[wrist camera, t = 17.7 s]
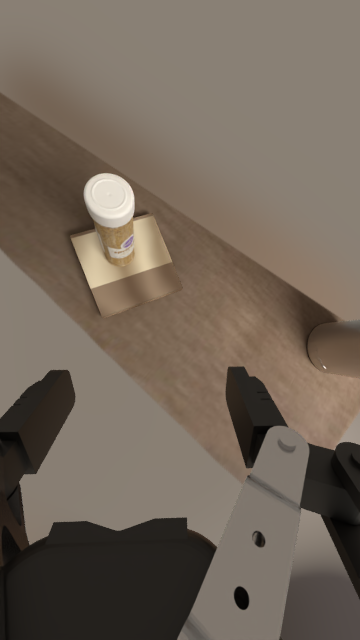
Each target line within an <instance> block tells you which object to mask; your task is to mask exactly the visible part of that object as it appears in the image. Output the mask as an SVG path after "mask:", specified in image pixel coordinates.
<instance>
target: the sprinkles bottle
mask: <svg viewBox="0 0 360 640" xmlns="http://www.w3.org/2000/svg"><path fill="white" fill-rule="evenodd" d="M84 200H85V203H86V206H87V209H88V212H89V214H90V216H91V217H92V218H93V221H94V225H95V229H96V232H97V235H98V238H99V240H100V243H101V246H102V248H103V250H104V255H105V257H106V260H107V261H108V262H109V263H110V264H112V265H114V266H118V267H124V266H126V265H128V264H130V263H131V262H132V261H133V259H134V256H135V250H134V229H133V227H134V225H133V214H134V194H133V191H132V189H131V187H130V185H129V184H128V183H127V182H126V181H125V180H124V179H123V178H121V177H119V176H117V175H114V174H110V173H103V174H98V175H96V176H94V177H92V178H91V179H90V180H89V181H88V182H87V184H86V186H85V188H84Z"/></svg>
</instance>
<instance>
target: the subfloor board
mask: <svg viewBox="0 0 360 640" xmlns="http://www.w3.org/2000/svg"><path fill="white" fill-rule="evenodd" d="M133 225H134V227H133V229H134V250H135V256H134V259H133V261H132V262H131V263H130V264H128V265H126V266H124V267H118V266H114V265H112V264H110V263H109V262H108V261H107V260H106V257H105V255H104V250H103V248H102V246H101V243H100V240H99V238H98V235H97V232H96V229H92V230H88V231H84V232H81V233H77V234H73V235H70V238H71V240H72V243H73V245H74V248H75V250H76V253H77V255H78V258H79V260H80V263H81V266H82V268H83V271H84V273H85V276H86V278H87V281H88V283H89V286H90V288H91V291H92V293H93V296H94V298H95V301H96V303H97V306H98V308H99V311H100V313H101V316H102V318H107V317H109V316H112V315H115V314H118V313H120V312H123V311H126V310H128V309H131V308H134V307H137V306H139V305H142V304H145V303H148V302H150V301H153V300H156V299H158V298H161V297H164V296H167V295H169V294H172V293H175V292H177V291H180V290H182V288H183V287H182V285H181V282H180V280H179V277H178V275H177V272H176V270H175V267H174V265H173V262H172V260H171V257H170V255H169V253H168V250H167V248H166V245H165V243H164V240H163V238H162V235H161V233H160V230H159V228H158V226H157V223H156V221H155V218H154V216H153V213H150V214H146V215H143V216H139V217H135V218H133Z"/></svg>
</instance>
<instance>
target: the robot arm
mask: <svg viewBox="0 0 360 640" xmlns="http://www.w3.org/2000/svg"><path fill="white" fill-rule="evenodd" d="M307 348H308V354H309V357H310V359H311V361H312V363H313V364H314V365H315V367H316V368H318V369H319V370H320V371H322V372H325V373H330V374H336V375H342V376H348V377H354V378H360V320H353V321H341V322H332V323H324V324H320V325H318V326H317V327H315V328H314V329H313V331H312V332H311V334H310V336H309V339H308V346H307ZM226 402H227V406H228V409H229V412H230V416H231V419H232V422H233V426H234V429H235V432H236V436H237V439H238V442H239V446H240V449H241V452H242V456H243V459H244V462H245V466H246V468H253V469H252V471H251V473H250V475H249V476H247V478H246V480H245V482H244V484H243V487H242V489H241V491H240V494H239V496H238V499H237V501H236V504H235V506H234V509H233V511H232V513H231V516H230V518H229V520H228V523H227V525H226V528H225V530H224V533H223V535H222V537H221V540H220V542H219V545H218V547H216V546H215V545H214V544H213V543H212V542H211V541H210V540H208V539H207V538H205V537H204V536H203V535H201V534H199V533H197V532H195V531H192V530H189V529H187V518H164V519H163V518H161V519H152V520H150V521H147V522H144V523H141V524H138V525H136V526H133V527H130V528H127V529H124V530H121V531H115V530H112V529H109V528H106V527H103V526H100V525H97V524H93V523H90V522H87V521H81V522H54V523H53V525H52V528H51V531H50V533H49V535H48V536H47V537H45V538H43V539H40V540H38V541H36V542H35V543H33V544H31V545H30V544H29V541H28V537H27V533H26V527H25V519H24V511H23V503H22V493H21V487H20V483H19V481H20V479H21V478H22V476H23V475H24V474H36V473H37V471H38V469H39V468H40V466H41V464H42V462H43V460H44V459H45V457H46V455H47V453H48V451H49V449H50V448H51V446H52V444H53V442H54V440H55V439H56V437H57V435H58V433H59V431H60V430H61V428H62V426H63V424H64V422H65V421H66V419H67V417H68V415H69V413H70V412H71V410H72V408H73V406H74V403H75V392H74V388H73V384H72V380H71V376H70V373H69V371H68V370H51V371H49V372H48V373H47V375H46V376H45V377H44V378H43V379H42V380H41V381H38V382H36V383H35V384H33V385H32V386H30V387H29V388H28V389H27V390H26V391H25V392H24V393H23V394H22V395H21V396H20V399H18V400H17V401H16V402H15V403H14V404H13V406H11V407H10V409H9V410H8V411H7V412H6V413H5V414H4V415H3V416H2V417H1V419H0V640H283V639H282V638H281V636H280V633H281V627H282V621H283V615H284V609H285V603H286V597H287V591H288V585H289V580H290V574H291V568H292V562H293V557H294V551H295V545H296V539H297V533H298V527H299V522H300V515H301V508H303V509H306V510H309V511H312V512H315V513H318V514H321V517H322V519H323V521H324V523H325V525H326V527H327V530H328V532H329V534H330V536H331V538H332V540H333V542H334V545H335V547H336V549H337V551H338V554H339V555H340V558H341V560H342V562H343V564H344V567H345V569H346V571H347V573H348V575H349V577H350V580H351V582H352V584H353V586H354V588H355V590H356V593H357V595H358V597H359V599H360V445H358V444H355V443H351V442H343V443H340V444H338V445H337V447H336V449H335V450H331V449H327V448H323V447H319V446H315V445H312V444H309V443H307V442H306V440H305V439H304V438H303V437H302V436H301V435H300V434H299V433H298V432H296V431H295V430H293V429H291V428H289V427H288V426H287V424H286V422H285V420H284V419H283V417H282V415H281V413H280V412H279V410H278V408H277V406H276V405H275V403H274V401H273V400H272V398H271V396H270V394H269V393H268V391H267V389H266V387H265V385H264V384H263V383H262V382H261V381H260V380H259V379H258V378H256V377H249V375H248V373H247V371H246V369H245V367H228V372H227V382H226Z"/></svg>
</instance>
